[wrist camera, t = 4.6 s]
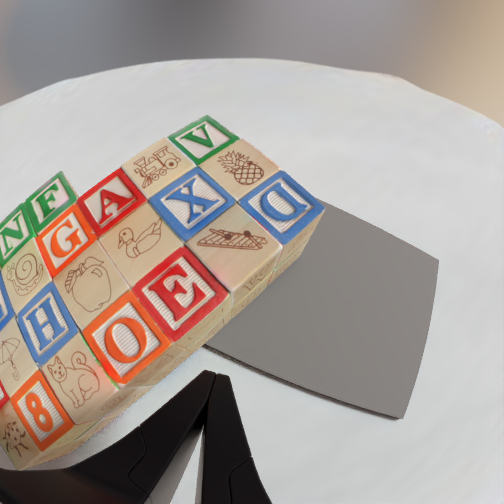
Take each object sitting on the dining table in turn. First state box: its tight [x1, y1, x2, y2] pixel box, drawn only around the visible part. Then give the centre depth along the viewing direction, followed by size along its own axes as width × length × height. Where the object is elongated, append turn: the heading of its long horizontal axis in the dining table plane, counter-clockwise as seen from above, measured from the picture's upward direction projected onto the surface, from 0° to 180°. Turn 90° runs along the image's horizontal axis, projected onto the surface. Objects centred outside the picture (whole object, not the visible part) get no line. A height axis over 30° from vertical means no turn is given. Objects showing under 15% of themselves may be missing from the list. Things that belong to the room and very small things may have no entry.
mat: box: [205, 197, 439, 419], centre depth 19 cm, size 13×24×1 cm, turn 65°
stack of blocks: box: [0, 115, 325, 470], centre depth 14 cm, size 21×6×12 cm
